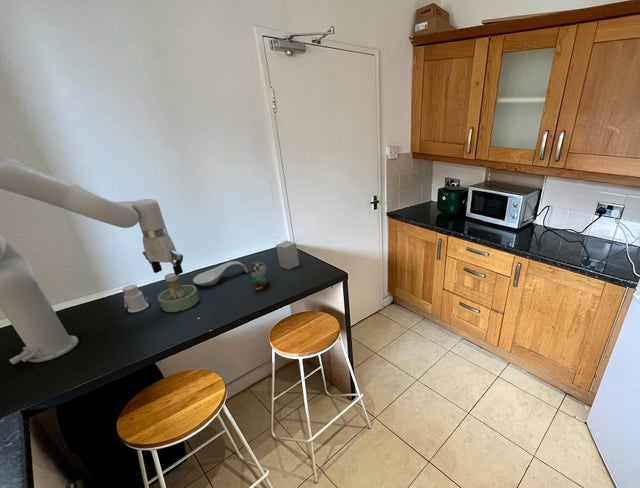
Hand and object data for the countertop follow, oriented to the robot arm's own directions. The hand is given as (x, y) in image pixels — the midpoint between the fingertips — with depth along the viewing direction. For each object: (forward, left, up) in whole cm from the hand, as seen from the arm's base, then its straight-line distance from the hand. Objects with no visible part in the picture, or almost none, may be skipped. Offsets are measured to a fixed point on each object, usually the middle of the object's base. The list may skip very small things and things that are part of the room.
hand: (168, 272), depth 126 cm
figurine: (+21, -25, -15) cm, 36 cm away
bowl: (0, 0, -15) cm, 15 cm away
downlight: (-6, +15, -15) cm, 22 cm away
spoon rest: (+23, -2, -15) cm, 28 cm away
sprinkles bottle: (0, 0, -15) cm, 15 cm away
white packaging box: (+43, -27, -15) cm, 53 cm away
